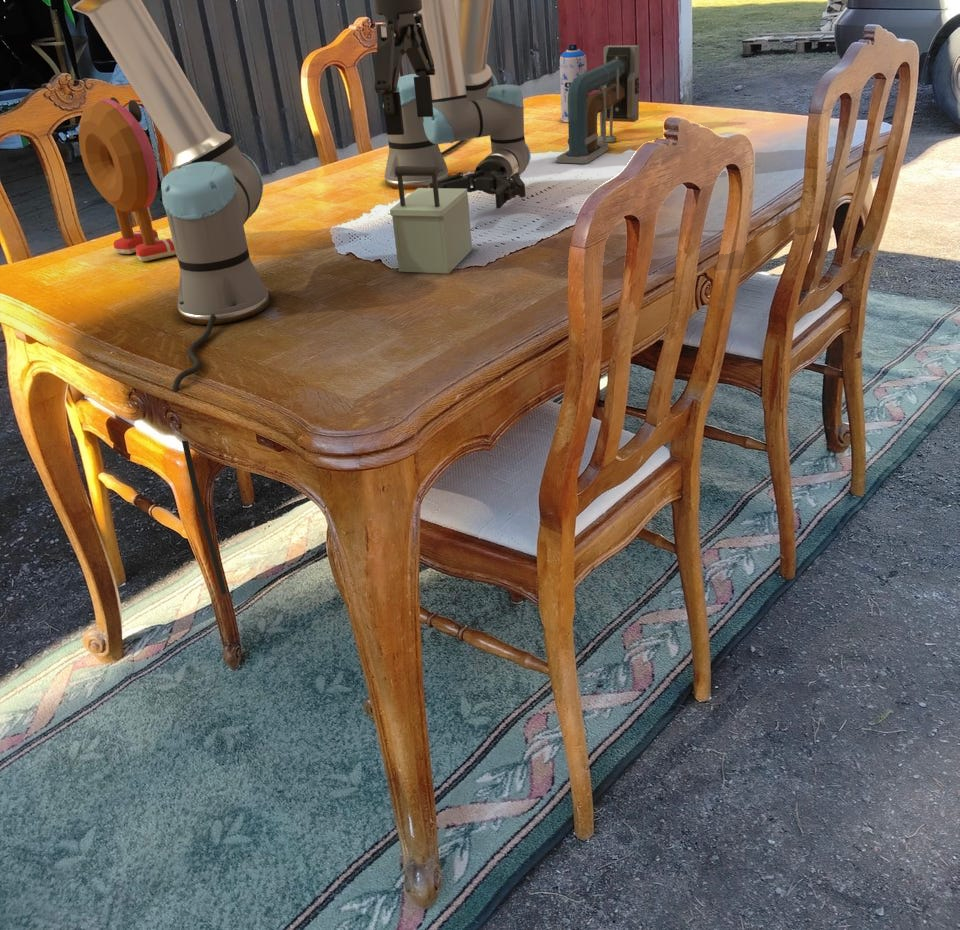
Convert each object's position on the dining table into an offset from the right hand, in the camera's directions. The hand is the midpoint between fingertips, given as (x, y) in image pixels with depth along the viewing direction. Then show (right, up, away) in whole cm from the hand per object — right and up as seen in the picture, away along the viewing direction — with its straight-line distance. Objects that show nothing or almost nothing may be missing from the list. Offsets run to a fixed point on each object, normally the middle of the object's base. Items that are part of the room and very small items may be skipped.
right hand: (464, 200), depth 189 cm
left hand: (-9, +6, -26) cm, 28 cm away
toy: (-65, -8, +9) cm, 66 cm away
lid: (-6, -5, -15) cm, 16 cm away
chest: (-5, -14, -9) cm, 17 cm away
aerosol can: (+30, +48, +89) cm, 105 cm away
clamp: (+33, +30, +59) cm, 74 cm away
